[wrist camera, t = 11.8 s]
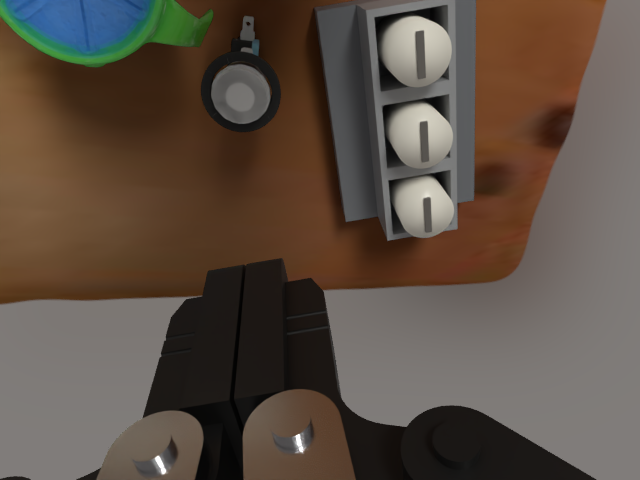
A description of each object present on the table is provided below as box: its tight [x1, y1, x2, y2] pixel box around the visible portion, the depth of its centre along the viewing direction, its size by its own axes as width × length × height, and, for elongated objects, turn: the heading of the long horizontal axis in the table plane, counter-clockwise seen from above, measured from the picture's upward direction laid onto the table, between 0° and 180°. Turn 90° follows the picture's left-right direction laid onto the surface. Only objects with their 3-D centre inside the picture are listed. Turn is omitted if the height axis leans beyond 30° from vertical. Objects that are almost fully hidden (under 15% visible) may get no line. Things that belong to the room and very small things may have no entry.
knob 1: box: [376, 12, 452, 87], centre depth 35 cm, size 4×4×6 cm
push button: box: [201, 16, 281, 132], centre depth 37 cm, size 7×5×10 cm
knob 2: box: [388, 173, 454, 238], centre depth 41 cm, size 4×4×6 cm
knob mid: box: [382, 98, 453, 169], centre depth 38 cm, size 4×4×6 cm
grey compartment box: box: [314, 0, 476, 241], centre depth 41 cm, size 18×12×8 cm, turn 9°
